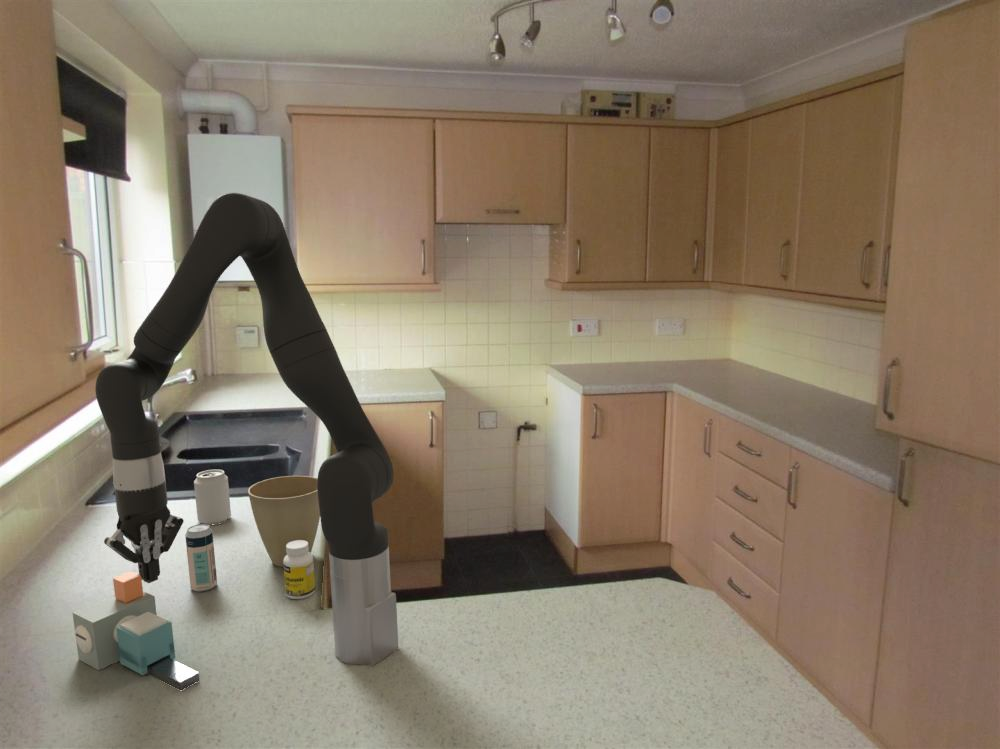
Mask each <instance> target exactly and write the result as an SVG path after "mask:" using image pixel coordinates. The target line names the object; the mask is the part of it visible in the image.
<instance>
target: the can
mask: <svg viewBox="0 0 1000 749" xmlns="http://www.w3.org/2000/svg"><path fill="white" fill-rule="evenodd" d="M195 476H196V478H195V480H193V486H194V487H193V488H194V495H195V496H194V497H195V506H196V515H197V516H196V517H197V522H199V523H201V524H202V523H203V524H206V525H209V526H213V525H212V524H217V525H220V524H219V523H221V524H223V523H222V522H224V521H226V520H227V519H228V520H229V519H230V517H231V516H232V510H231V499H230V497H231V496H230V490H229V489H230V487H229V477H228V476H227V475H226V474H225V471H224V470H223V469H207V470H204V471H200V472H198V473H197V474H196V475H195ZM228 520H227V521H228ZM227 521H226V522H227ZM224 523H225V522H224Z"/></svg>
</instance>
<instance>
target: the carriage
mask: <svg viewBox="0 0 1000 749" xmlns="http://www.w3.org/2000/svg"><path fill="white" fill-rule="evenodd" d="M116 629H117V638H118V646H119V654H120V664H121V665H122V666H125V667H127V668H129V669H130V670H132V671H134V672H136V673H138V674H140V676H144V675H145V674H147V673H148V672H147V666H148V665H150V664H152V663H154V662H156V661H158V660H160V659H161V658H163V657H165V656H167V657H169V658H171V659H173V660H175V659H176V650H175V643H174V631H173V622H172V621H170V620H169V619H166V618H164V617H162V616H159V615H155V614H152V613H150V612H146V613H144V614H142V615H140V616H137V617H135V618H133V619H131V620H128V621H126V622H124V623H122V624H120V626H118V627H116Z"/></svg>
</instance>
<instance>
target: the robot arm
mask: <svg viewBox="0 0 1000 749" xmlns="http://www.w3.org/2000/svg"><path fill="white" fill-rule="evenodd" d="M284 226H285V225H284V223H283V220H282V218H281V216H280V215H279V213H278V212H277V211H276V209H275V208H274V207H273V206H272V205H270V204H269V203H268V202H266V201H263V200H262V199H259V198H256V197H253V196H250V195H247V194H243V193H239V192H228V193H224V194H222V195H219V196H218V197H217V198H215V200H213V201H212V202H211V204H210V205H209V207H208V209H207V210H206V211H205V213H204V215H203V217H202V220H201V221H200V222H199V225H198V228H197V230H196V232H195V234H194V236H193V238H192V240H191V243H189V244H190V245H188V248H187V250H186V252H185V255H184V256H183V258H182V260H181V262H180V264H179V266H178V268H177V270H176V272H175V274H174V275H173V277H172V278H171V281H170V283H169V284H168V286H167V287H166V289H165V290H164V292H163V294H162V295H161V297H160V298H159V299H158V301H157V302H156V304H155V305H154V306H153V308H152V309H151V310H150V312H149V313H148V315H147V316H146V317H145V319H144V320H143V322H142V323H141V325H140V326H139V327H138V329H137V330H136V332H135V333H134V337H133V345H134V348H133V350H132V352H131V353H130V354H129V356H128V357H127V358H126V359H125V360H121V361H118V362H114V363H110V364H109V365H108V364H107V366H104V367H103V368H102V369H101V370H100V372H99V373H98V375H97V377H96V380H95V398H96V401H97V404H98V407H99V410H100V412H101V415H102V417H103V420H104V423H105V425H106V427H107V428H108V430H109V434H110V444H111V454H112V455H111V456H112V483H113V486H114V495H115V497H114V498H115V505H116V512H117V514H118V520H117V523H116V531H115V532H114V533H113V534H112V535H111V536H107V537H105V538H104V540H103V541H104V542H103V543H104V545H106V546H107V547H108V548H110V549H111V550H112V551H113V552H115V553H116V554H118V555H119V556H121V558H122V559H124V560H126V561H128V562H131V563H134V564H137V568H138V574H139V575H141V579H142V582H145V583H147V584H150V583H153V582H156V581H158V580H159V576H160V575H161V568H160V557H161V555H162V554H164V553H167V552H169V550H170V549H171V547H172V545H173V543H174V541H175V539H176V537H177V536H178V533H179V531H180V530H181V528H182V526H183V524H184V518H182V517H180V516H176V515H173V514H171V510H170V509H169V508H168V501H169V500H168V494H167V493H168V492H167V482H166V474H165V464H164V460H163V456H162V452H161V451H162V450H161V440H160V433H159V427H158V423H157V421H156V420H155V419H154V418H152V417H150V416H146V412H145V409H144V406H143V401H146V400H148V399H150V398H151V397H153V396H154V395H155V394H156V393H158V391H159V390H160V389H161V387H162V386H163V385H164V383H165V382H166V380H167V378H168V376H169V374H170V372H171V370H172V367H173V366H174V363H175V361H176V358H177V357H178V356H179V354H180V353H182V351H183V349H184V348H185V347H186V345H187V344H188V342H189V341H190V340H191V339H192V337H193V336H194V335H195V333H196V332H197V330H198V328H199V327H200V325H201V323H202V321H203V319H204V316H205V314H206V311H207V307H208V304H209V301H210V298H211V295H212V292H213V291H214V288H215V285H216V284H217V282H218V281H219V279H220V278H221V276H222V275H223V273H224V272H225V271H226V270H227V269H228V268H229V267H230V266H231V265H232V264H233V263H234V262H235V261H236V260H237V259H238V258H239V257H241V258H242V260H243V262H244V264H245V265H246V267H247V268H248V270H249V272H250V275H251V276H252V278H253V281H254V282H255V285H256V287H257V289H258V292H259V295H260V301H261V307H262V324H263V332H264V333H263V334H264V339H265V342H266V345H267V348H268V351H269V353H270V356H271V358H272V360H273V363H274V364H275V367H276V369H277V371H278V373H279V374H278V375H280V378H281V380H282V381H283V383H284V384H285V386H286V387H287V388H288V389H289V390H290V391H291V393H292V394H293V395H294V396H295V397H296V398H298V399H299V401H301V402H302V403H303V404H304V405H305V406H306V407H307V408H309V409H310V410H311V411H312V412H313V413H314V414H315V415H316V416H317V417H318V418H319V419H320V421H321V422H322V423H323V425H324V427H325V429H326V430H327V432H328V433H329V436H330V438H331V440H332V442H333V444H334V447H335V449H336V453H334V454H332V455H331V456H329V457H327V458H326V459H325V460H324V461H323V462H322V464H321V465H320V467H319V469H318V473H317V477H316V478H317V492H318V501H319V509H320V523H321V524H320V525H321V526H320V527H321V529H322V533H323V536H324V538H325V540H326V543H327V547H328V557H329V559H328V560H329V573H330V574H329V577H330V594H331V607H332V620H333V622H332V624H333V636H334V637H333V638H334V651H335V656H336V658H337V659H338V660H340V661H341V662H343V663H346V664H350V665H369V666H371V667H373V666H375V665H376V664H378V663H379V662H380V661H383V659H385V658H386V657H388V656H389V655H390V654H392V653H394V652H395V651H397V650H398V649H399V632H398V631H399V629H398V614H397V613H398V610H397V608H398V607H397V595H396V592H392V589H391V587H392V586H391V569H390V546H389V533H388V529H387V527H385V525H384V524H382V523H380V522H377V521H375V518H374V508H373V506H374V505H373V502H375V501H377V500H378V499H379V498H381V497H382V496H384V495H385V494H386V493H388V491H390V489H391V487H392V485H393V482H394V477H395V476H394V473H395V472H394V466H393V463H392V460H391V457H390V456H389V452H388V451H387V450H386V448H385V445H384V444H383V442H382V441H381V439H380V437H379V436H378V434H377V432H376V431H375V429H374V427H373V425H372V423H371V421H370V420H369V418H368V417H367V416H368V415H366V413H365V411H364V409H363V407H362V405H361V404H360V401H359V398H358V397H357V393H355V390H354V389H353V386H352V384H351V382H350V379H349V377H348V375H347V372H346V371H345V369H344V367H343V365H342V362H341V360H340V358H339V355H338V352H337V350H336V347H335V345H334V343H333V341H332V339H331V336H330V335H329V332H328V329H327V327H326V325H325V324H324V322H323V320H322V317H321V315H320V314H319V311H318V309H317V306H316V305H315V302H314V300H313V297H312V295H311V294H310V291H309V290H308V288H307V286H306V284H305V282H304V279H303V278H302V276H301V273H300V271H299V267H298V266H297V263H296V262H297V261H296V260H295V257H294V252H293V250H292V247H291V244H290V241H289V236H288V234H287V231H286V228H285V227H284ZM124 537H125V538H124ZM125 539H127V540H128V541H129V542H130V543H131V546H132V548H133V550H131V549H130V548H129V547H127V546H126V545H125V544H126V540H125Z"/></svg>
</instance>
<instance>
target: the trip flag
mask: <svg viewBox="0 0 1000 749" xmlns="http://www.w3.org/2000/svg"><path fill="white" fill-rule="evenodd" d="M112 582H113V583H112V584H113V589H114V595H115V599H118V600H120V601H122V602H124V603H127V602H129V601H132V600H134V599H136V598H139V597H141V596H143V591H144V589H143V588H144V587H143V580H142V579H141V575H139V573H136V572H133V571H131V570H130V571H128V572H125V573H123V574H120V575H117V576H115V577H113V578H112Z"/></svg>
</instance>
